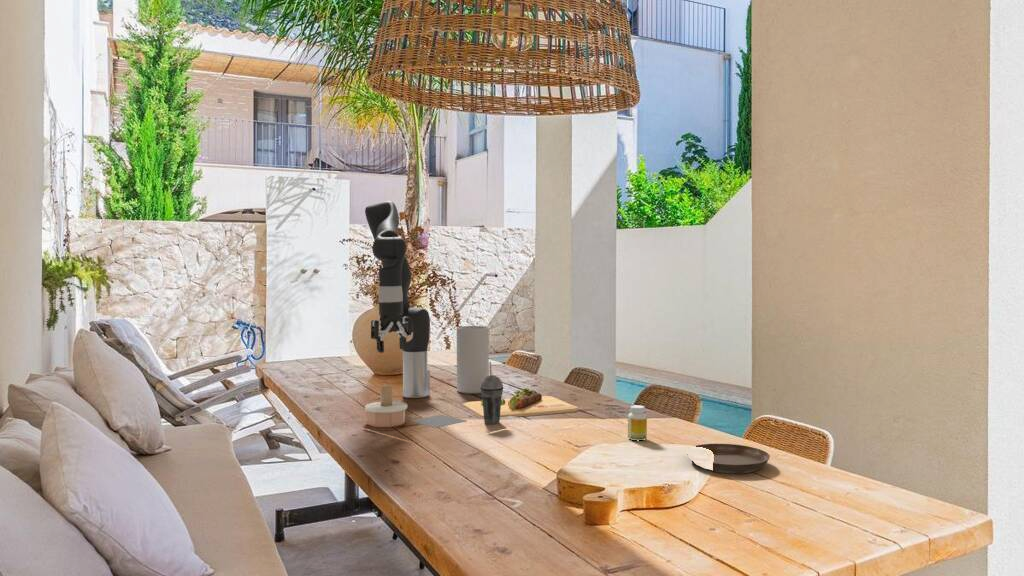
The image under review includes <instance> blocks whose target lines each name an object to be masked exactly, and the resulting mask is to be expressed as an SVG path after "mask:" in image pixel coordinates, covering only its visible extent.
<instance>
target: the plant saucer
mask: <svg viewBox="0 0 1024 576" xmlns="http://www.w3.org/2000/svg"><path fill="white" fill-rule="evenodd" d="M695 446H696V447H703V448H706V449H709V450H711V451H712V452H713V454H714V462H713V471H712V472H714V473H720V474H721V473H722V474H730V473H731V474H736V475H737V474H739V475H740V473H741V474H750V473H754V472H757V471H759V470H761V468H762V469H763V467H764V466H765V465H767V463H768V462H769V460H770V458H771V456H770V453H768V452H767V451H764V450H763V449H760V448H756V447H753V446H747V445H741V444H735V443H734V444H733V443H731V444H730V443H703V444H697V445H695Z"/></svg>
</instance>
